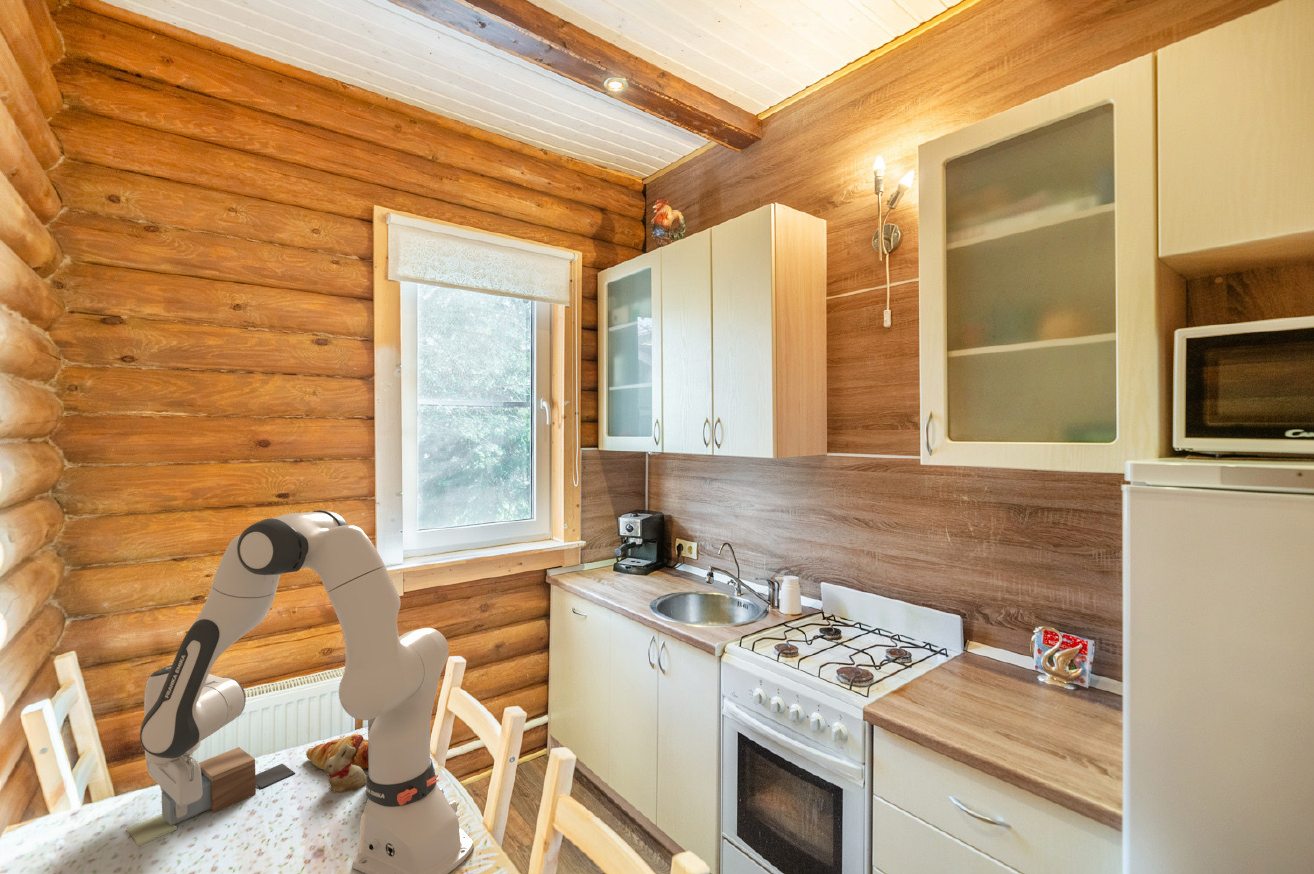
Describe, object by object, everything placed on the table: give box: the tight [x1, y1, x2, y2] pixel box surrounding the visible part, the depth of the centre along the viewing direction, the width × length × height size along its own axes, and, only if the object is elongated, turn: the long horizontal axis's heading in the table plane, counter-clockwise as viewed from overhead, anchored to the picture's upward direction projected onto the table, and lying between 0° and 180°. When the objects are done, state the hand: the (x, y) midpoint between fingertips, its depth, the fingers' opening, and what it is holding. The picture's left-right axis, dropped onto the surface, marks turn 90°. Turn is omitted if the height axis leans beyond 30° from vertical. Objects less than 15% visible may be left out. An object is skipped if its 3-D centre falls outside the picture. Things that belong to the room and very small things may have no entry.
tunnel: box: [126, 746, 296, 847], centre depth 129 cm, size 8×28×8 cm, turn 145°
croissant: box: [305, 733, 368, 771], centre depth 144 cm, size 21×10×8 cm, turn 83°
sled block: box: [161, 775, 211, 825], centre depth 126 cm, size 5×9×5 cm, turn 145°
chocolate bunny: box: [324, 744, 367, 793], centre depth 134 cm, size 6×8×10 cm
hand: (175, 809), depth 124 cm, fingers closed on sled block, 5 cm apart
